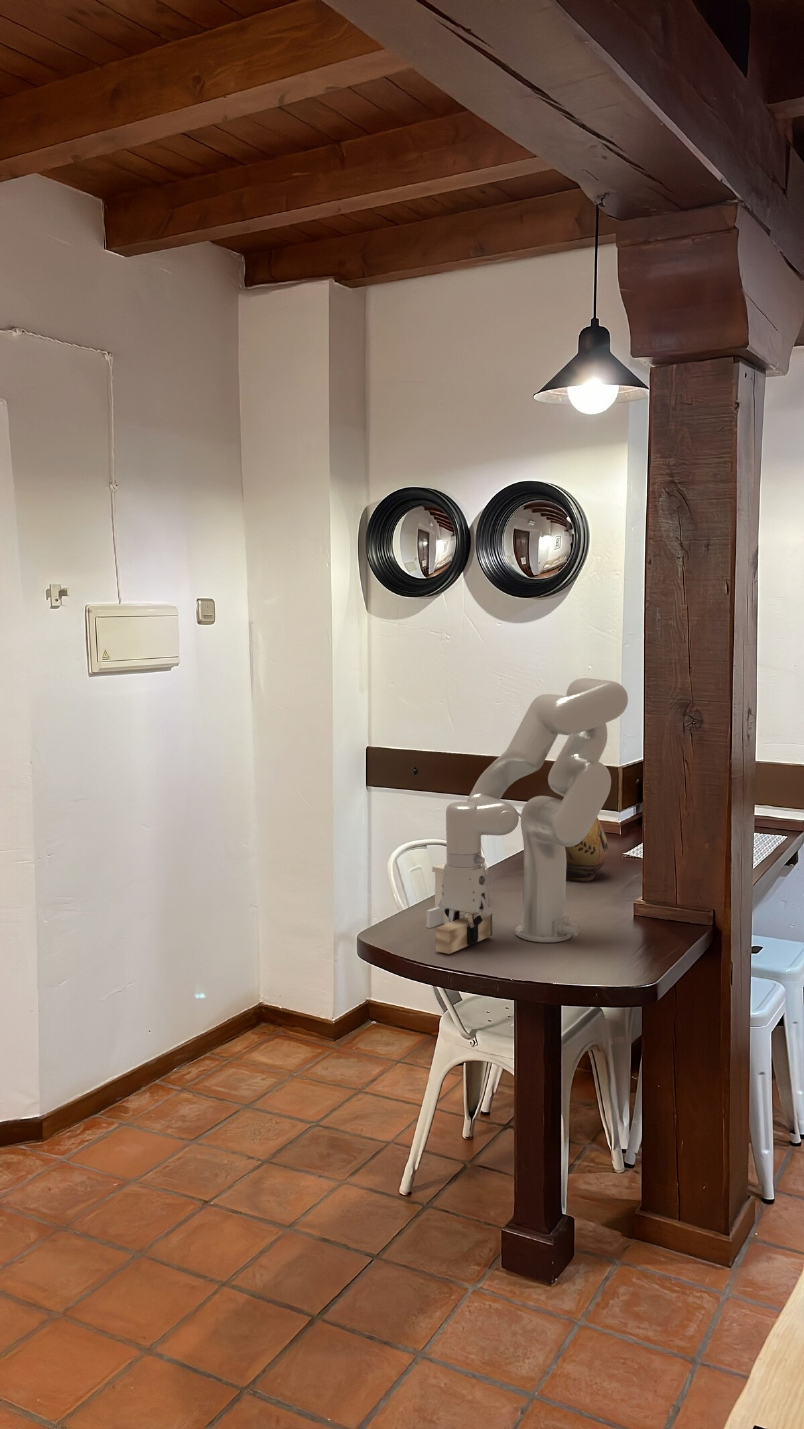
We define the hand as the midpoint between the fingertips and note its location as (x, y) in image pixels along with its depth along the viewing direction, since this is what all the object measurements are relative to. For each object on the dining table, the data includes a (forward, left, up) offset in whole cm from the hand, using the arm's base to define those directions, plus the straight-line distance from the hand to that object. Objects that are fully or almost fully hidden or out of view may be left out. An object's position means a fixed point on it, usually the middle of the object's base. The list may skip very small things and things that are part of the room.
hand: (464, 940), depth 235 cm
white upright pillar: (+11, -10, -1) cm, 15 cm away
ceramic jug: (+13, -71, -1) cm, 73 cm away
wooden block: (0, 0, -1) cm, 1 cm away
